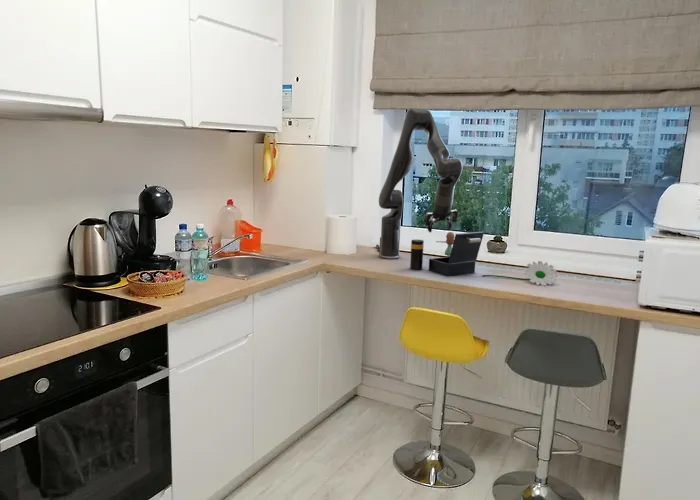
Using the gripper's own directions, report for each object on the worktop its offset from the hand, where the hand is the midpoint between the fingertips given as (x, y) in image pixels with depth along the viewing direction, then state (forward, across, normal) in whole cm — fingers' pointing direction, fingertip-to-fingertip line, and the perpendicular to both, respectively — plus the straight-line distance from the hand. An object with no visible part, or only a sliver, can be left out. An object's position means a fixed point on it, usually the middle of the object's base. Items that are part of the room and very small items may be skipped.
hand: (438, 230), depth 239 cm
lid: (-2, -6, +15) cm, 17 cm away
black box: (+12, -2, +15) cm, 19 cm away
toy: (+22, -8, 0) cm, 23 cm away
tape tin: (+14, +12, +9) cm, 20 cm away
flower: (+6, -26, +31) cm, 41 cm away
